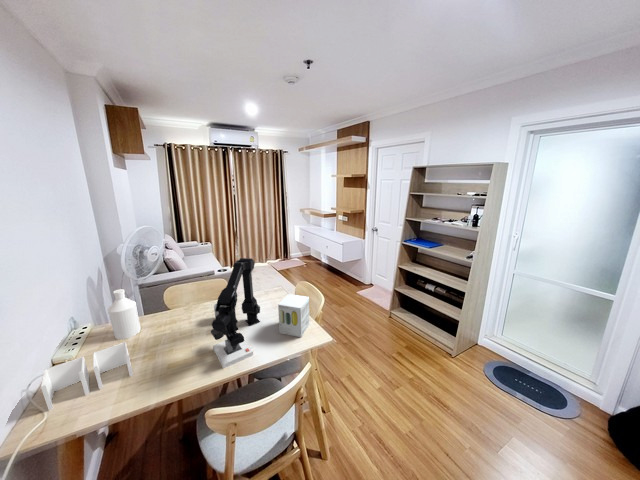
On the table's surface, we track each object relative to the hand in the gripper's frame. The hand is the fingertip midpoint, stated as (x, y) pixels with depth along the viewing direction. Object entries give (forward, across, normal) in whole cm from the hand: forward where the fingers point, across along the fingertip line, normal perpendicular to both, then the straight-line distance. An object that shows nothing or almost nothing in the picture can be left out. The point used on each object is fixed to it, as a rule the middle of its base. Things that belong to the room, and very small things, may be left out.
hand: (232, 347), depth 121 cm
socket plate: (+3, 0, 0) cm, 3 cm away
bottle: (+3, -50, -40) cm, 64 cm away
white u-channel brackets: (+3, -16, -52) cm, 54 cm away
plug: (+1, 0, 0) cm, 1 cm away
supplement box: (+3, +2, +34) cm, 34 cm away
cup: (+3, -31, +5) cm, 32 cm away
